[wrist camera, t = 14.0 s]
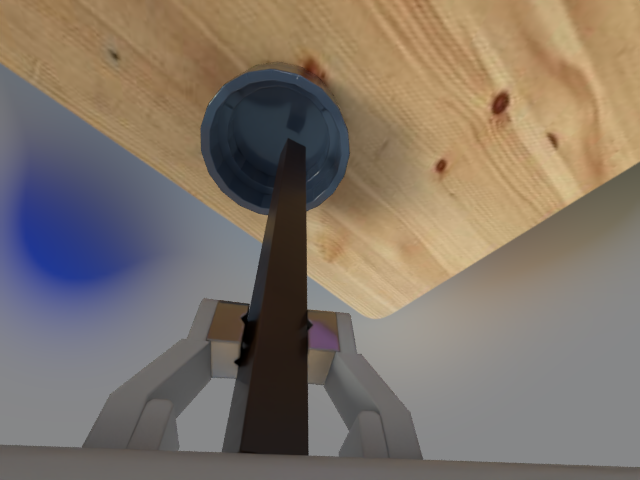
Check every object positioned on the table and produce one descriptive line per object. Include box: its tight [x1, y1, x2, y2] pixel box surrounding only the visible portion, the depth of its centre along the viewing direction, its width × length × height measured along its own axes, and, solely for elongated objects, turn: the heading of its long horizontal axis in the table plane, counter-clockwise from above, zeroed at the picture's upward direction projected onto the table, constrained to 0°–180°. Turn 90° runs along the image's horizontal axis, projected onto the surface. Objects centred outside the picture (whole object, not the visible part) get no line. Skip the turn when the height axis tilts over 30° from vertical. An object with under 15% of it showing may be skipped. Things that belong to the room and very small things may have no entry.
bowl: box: [201, 62, 350, 215], centre depth 26 cm, size 11×11×6 cm
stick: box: [222, 138, 308, 456], centre depth 16 cm, size 2×2×22 cm
